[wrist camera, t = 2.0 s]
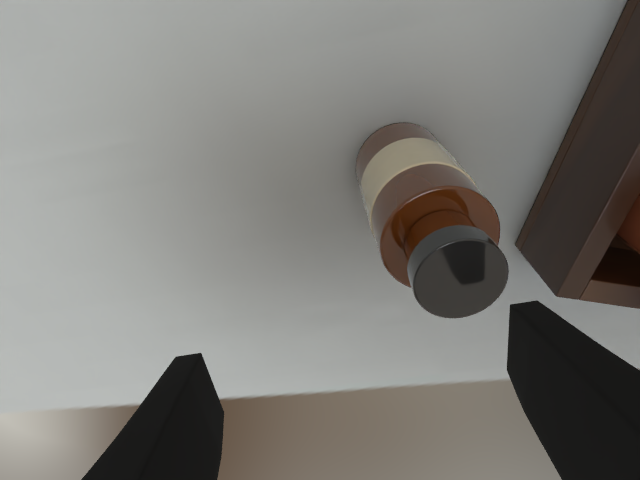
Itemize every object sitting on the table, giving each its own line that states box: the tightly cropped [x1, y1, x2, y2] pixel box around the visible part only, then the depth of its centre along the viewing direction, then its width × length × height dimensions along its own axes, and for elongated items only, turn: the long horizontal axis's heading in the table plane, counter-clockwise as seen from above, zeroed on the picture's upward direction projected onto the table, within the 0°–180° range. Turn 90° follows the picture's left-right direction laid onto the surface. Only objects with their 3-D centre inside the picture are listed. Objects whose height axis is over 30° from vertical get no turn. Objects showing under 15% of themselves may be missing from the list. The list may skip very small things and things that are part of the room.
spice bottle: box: [356, 123, 509, 318], centre depth 16 cm, size 4×4×8 cm
